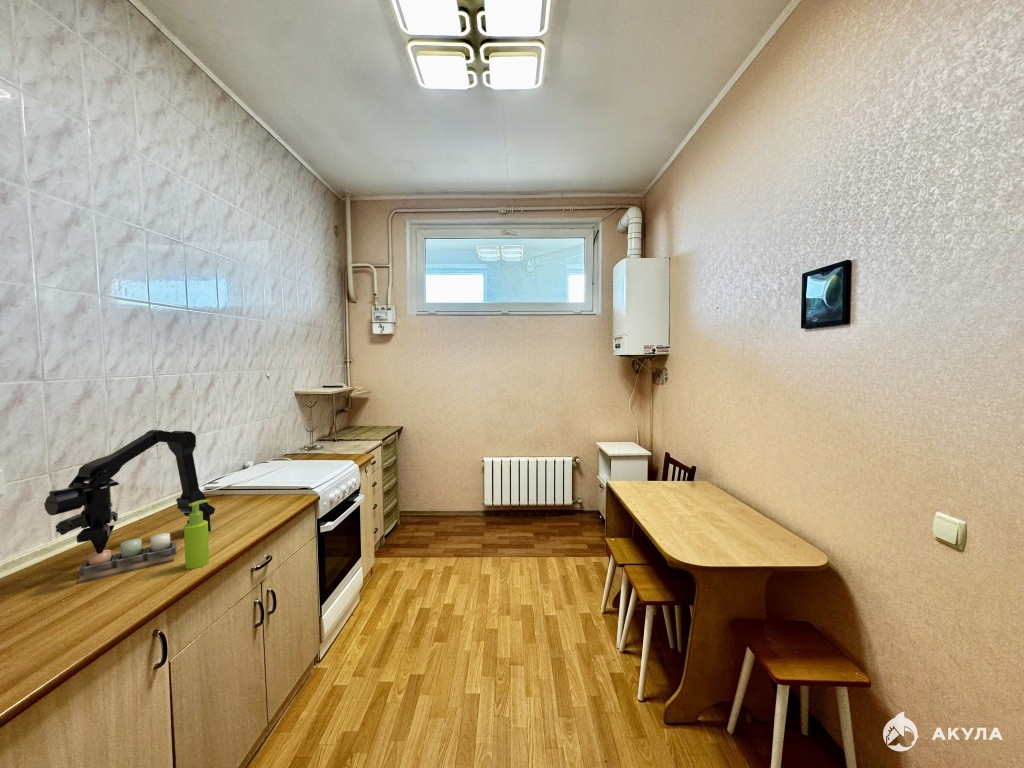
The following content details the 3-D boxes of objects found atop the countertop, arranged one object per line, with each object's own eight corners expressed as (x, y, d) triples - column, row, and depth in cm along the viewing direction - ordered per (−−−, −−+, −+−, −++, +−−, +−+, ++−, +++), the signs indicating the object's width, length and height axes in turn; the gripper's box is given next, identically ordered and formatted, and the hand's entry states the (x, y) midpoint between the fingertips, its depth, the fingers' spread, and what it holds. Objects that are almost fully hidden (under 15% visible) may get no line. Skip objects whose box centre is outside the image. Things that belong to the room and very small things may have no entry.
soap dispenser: (217, 559, 127) (214, 499, 126) (193, 570, 120) (191, 506, 119) (204, 557, 129) (202, 497, 128) (181, 567, 122) (178, 504, 121)
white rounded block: (170, 543, 132) (170, 531, 132) (169, 548, 129) (169, 536, 129) (151, 547, 129) (151, 535, 129) (150, 552, 126) (149, 540, 126)
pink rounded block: (112, 560, 124) (112, 548, 124) (109, 566, 120) (109, 553, 120) (90, 565, 121) (90, 552, 121) (87, 571, 117) (86, 558, 117)
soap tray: (177, 545, 137) (177, 537, 137) (175, 561, 126) (174, 551, 126) (88, 565, 124) (87, 555, 124) (76, 584, 113) (76, 573, 113)
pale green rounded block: (142, 549, 128) (142, 537, 128) (140, 554, 124) (140, 542, 124) (122, 553, 125) (121, 541, 125) (119, 559, 121) (119, 546, 121)
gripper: (66, 501, 122) (69, 549, 123) (48, 519, 107) (51, 574, 108) (117, 493, 129) (119, 539, 130) (106, 509, 114) (108, 561, 115)
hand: (100, 553), depth 120 cm, fingers closed, pressing on pink rounded block
